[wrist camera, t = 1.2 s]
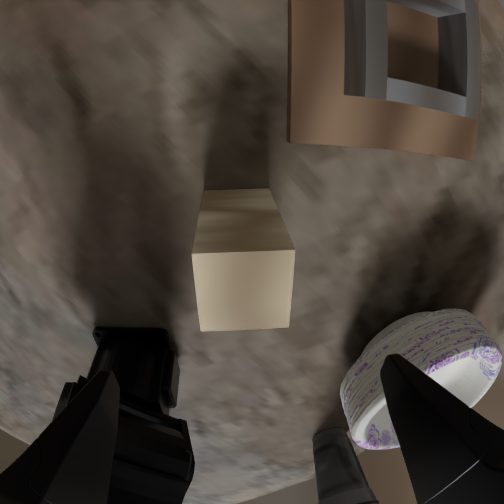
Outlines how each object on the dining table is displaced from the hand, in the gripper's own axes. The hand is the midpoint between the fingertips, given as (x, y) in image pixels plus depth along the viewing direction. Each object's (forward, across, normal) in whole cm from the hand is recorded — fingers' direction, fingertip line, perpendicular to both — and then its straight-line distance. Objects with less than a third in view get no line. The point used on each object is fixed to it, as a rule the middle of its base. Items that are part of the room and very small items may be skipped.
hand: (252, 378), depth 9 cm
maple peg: (+12, 0, 0) cm, 12 cm away
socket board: (+12, -10, -12) cm, 20 cm away
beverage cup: (+13, -11, +30) cm, 34 cm away
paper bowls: (+13, -16, +14) cm, 25 cm away
